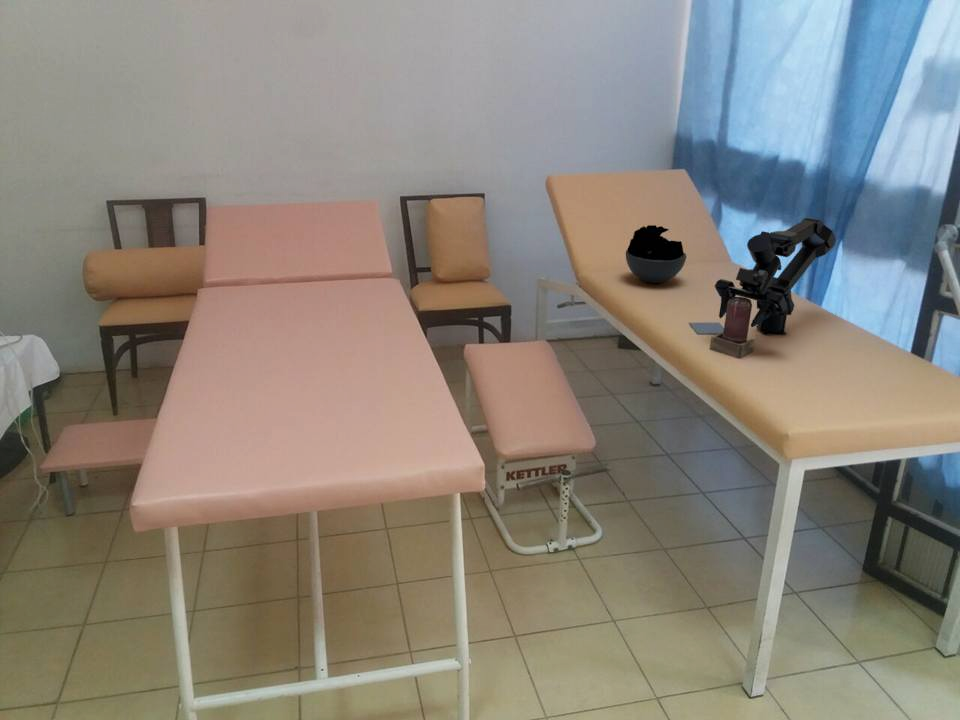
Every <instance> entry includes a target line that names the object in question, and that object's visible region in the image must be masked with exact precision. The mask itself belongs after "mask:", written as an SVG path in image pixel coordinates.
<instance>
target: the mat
mask: <svg viewBox="0 0 960 720" xmlns="http://www.w3.org/2000/svg"><path fill="white" fill-rule="evenodd" d="M688 323H689V324H690V325H689V324H688V325H689V327H691V328H692V330H693V329H694V330H693V331H694V332H695V334H696V335H698V334H711V335H716V334H719V333H721V332H723V331H724V326H723V325H722V324H721V323H720V322H688Z"/></svg>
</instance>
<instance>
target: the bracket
mask: <svg viewBox="0 0 960 720" xmlns="http://www.w3.org/2000/svg"><path fill="white" fill-rule="evenodd" d="M723 332H724V331H723ZM723 332H721V333H719V334H713V335H712V336H711V337H710V343H709V350H711V349H713V350H712V351H715V350H716V351H715V352H718V351H719V353H721V352H722V353H721V354H724V353H725V354H724V355H727V354H728V355H727V356H731V357H733V358H738V359H741V358H743V357H745V356H747V355H749V354H751V353H753V351H754V346H755V342H756V341H755V339H754V338H750V339H747V341H746V342H744V343H742V344H738V343H734V342H731V341H728V340H724V339H723Z"/></svg>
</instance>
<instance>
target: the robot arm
mask: <svg viewBox="0 0 960 720" xmlns="http://www.w3.org/2000/svg"><path fill="white" fill-rule="evenodd" d="M836 240H837V239H836V236H835V234H834V231H833V230H832V229H830V227H827V226H826V225H825V224H824V221H822V220H821V219H817V218H812V217H804V218H803V219H802V220H801V221H800V222H798V223H796V224H795V225H792V226H791V227H789V228H787V229H786V230H781V231H780V230H776V231H772V232H769V231H768V232H767V231H763V230H762V231H761V233H760V234H756V235H754V236H752V237H751V238H750V239H749V240H748V241H747V243H746V246H747V249H748V251H749V254H750V256H751V258H752V261H753V262H754V263H755V264H754V266H753V268H750V269H746V268H742V267H740V268H738V272H737V275H736V278H735V280H736V281H739V282H738V283H739V286H740V287H742V288H739V287H736V285H735V284H734V281H732V280H727V279H724V278H719V279H718V280H717V281H716V282H715V284H714V288H715V290H716V292H717V294H718V296H719V297H720V307H719V314H718V318H719V319H722V318H723V317H724V316H726V311H727V304H728V301H729V300H730V298H732V297H743V298H747V299H750V300H753V301H756V309H758V311H757V313H756V314H755V316H754V317H753V319H752V321H751V323H750V327H751V328H754V327H755V326H756V327H755V328H757V329H758V331H759V332H761V333H762V334H763V335H767V336H769V335H773V336H774V335H775V336H778V335H782V336H783V335H785V336H786V335H787V332H786V330H785V328H786V323H787V316H791V315H792V313H793V311H794V308H795V303H794V301H793V299H792V289H793V288H794V287H795V285H796V284H797V283H798V282H799V280H800V279H801V278H802V276H803V275H804V274H805V273H806V272H807V270H808V268H809V267H810V266H811V265H812V264H813V262H814V261H815V260H816V259H818V258H820V257H824V256H825V255H827V254H828V253H829V252H830V251H831V250H832V249H833V248H834V247H835V245H836ZM798 244H801V248H799V250H798V251H797V252H796V254H795V255H794V256H793V258H792V259H791V260H790V262H789V263H788V264H786V266H785V268H784V269H783V270H782V267H783V266H782V262H781V259H780V258H779V257H783V258H788V257H790V256H791V255H792V254H793V253H795V251H796V247H797V245H798ZM781 270H782V271H781ZM777 271H781V272H780V274H779V276H777V277H776V276H775V275H776V273H777Z"/></svg>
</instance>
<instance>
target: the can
mask: <svg viewBox="0 0 960 720" xmlns="http://www.w3.org/2000/svg"><path fill="white" fill-rule="evenodd" d="M752 307H753V304H752V299H749V298H745V297H741V296H735V297H732V298H730V300H729V301H728V304H727V311H726V313H725V320H724V326H723V327H724V332H723V339H724V340H728V341H731V342H734V343H738V344H742V343H744V342H746V341H748V335H749V334H748V333H749V327H750V321H751V315H752Z"/></svg>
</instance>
